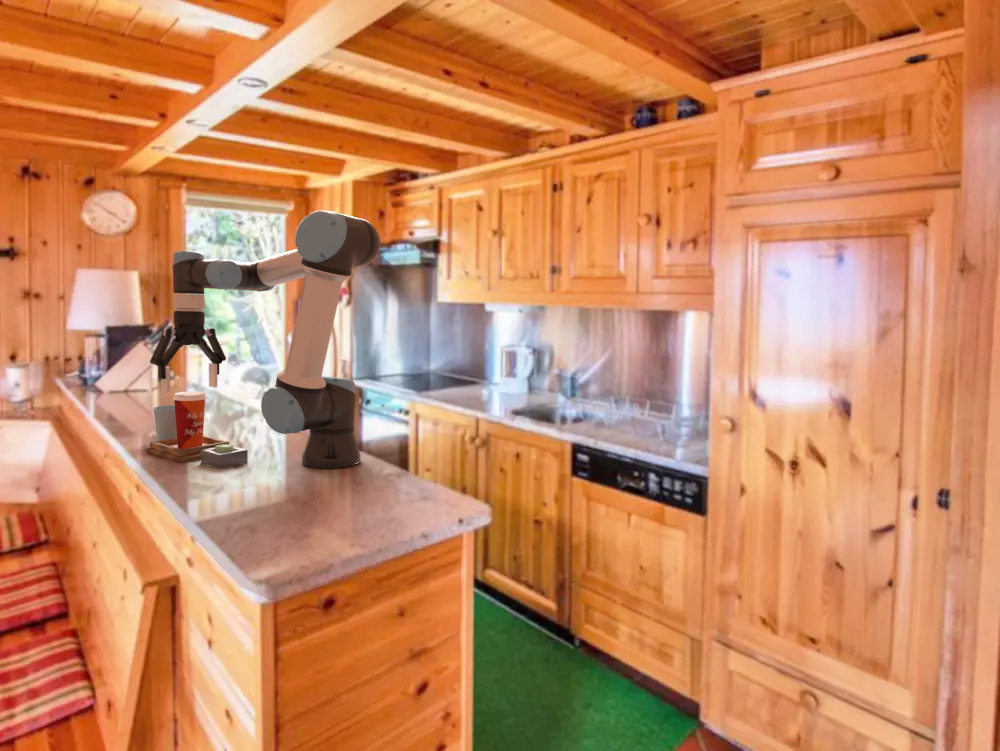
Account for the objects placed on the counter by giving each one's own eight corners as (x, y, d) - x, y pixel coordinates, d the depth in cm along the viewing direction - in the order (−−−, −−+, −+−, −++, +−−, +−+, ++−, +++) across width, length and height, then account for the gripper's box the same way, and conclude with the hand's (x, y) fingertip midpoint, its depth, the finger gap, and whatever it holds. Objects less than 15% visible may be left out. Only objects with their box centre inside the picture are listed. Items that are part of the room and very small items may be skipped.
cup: (150, 446, 178) (149, 409, 177) (158, 440, 186) (157, 405, 185) (179, 446, 180) (179, 409, 179) (186, 440, 188) (186, 405, 187)
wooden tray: (235, 452, 176) (235, 442, 175) (183, 462, 163) (183, 451, 163) (198, 443, 184) (198, 433, 184) (146, 452, 172) (146, 441, 171)
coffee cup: (193, 452, 169) (193, 396, 167) (166, 449, 170) (165, 394, 169) (213, 445, 177) (213, 392, 175) (187, 443, 179) (187, 390, 177)
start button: (237, 461, 165) (237, 446, 165) (221, 464, 161) (221, 449, 161) (226, 458, 167) (226, 443, 167) (211, 461, 164) (211, 446, 163)
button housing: (247, 462, 166) (247, 449, 165) (219, 468, 159) (219, 455, 159) (228, 457, 170) (228, 444, 170) (200, 463, 163) (200, 450, 163)
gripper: (222, 310, 182) (222, 383, 184) (134, 308, 161) (135, 391, 163) (239, 311, 178) (239, 386, 181) (150, 309, 157) (152, 394, 159)
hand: (190, 389), depth 172 cm, fingers open, 13 cm apart
